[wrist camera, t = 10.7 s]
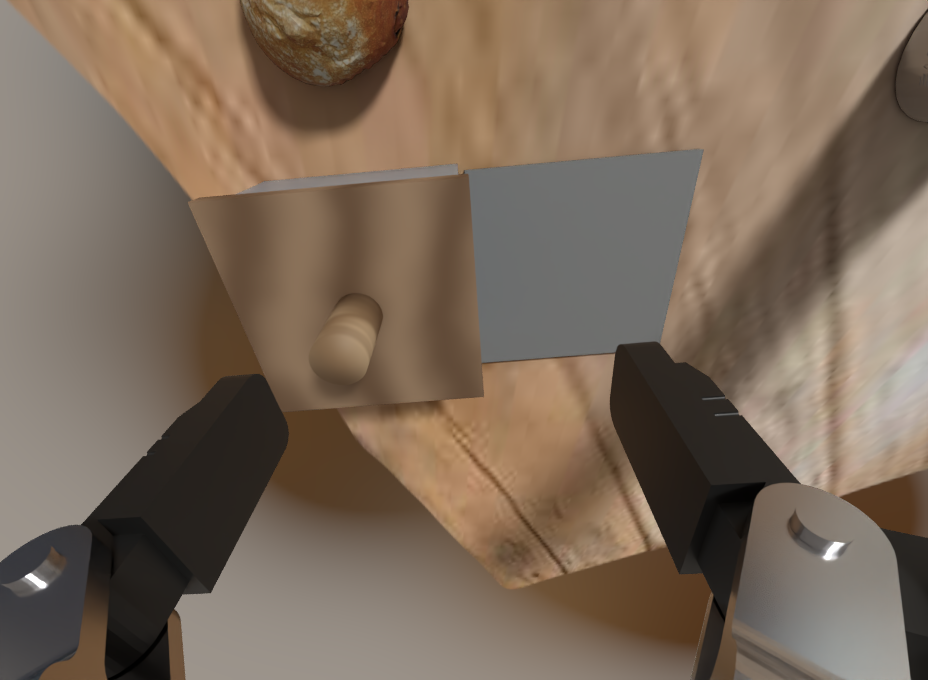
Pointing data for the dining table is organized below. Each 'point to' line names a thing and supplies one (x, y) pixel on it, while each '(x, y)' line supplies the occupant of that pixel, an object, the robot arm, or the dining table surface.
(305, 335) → the lid
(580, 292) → the mat
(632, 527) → the dining table surface
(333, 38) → the bread roll
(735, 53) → the dining table surface
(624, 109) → the dining table surface
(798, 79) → the dining table surface
